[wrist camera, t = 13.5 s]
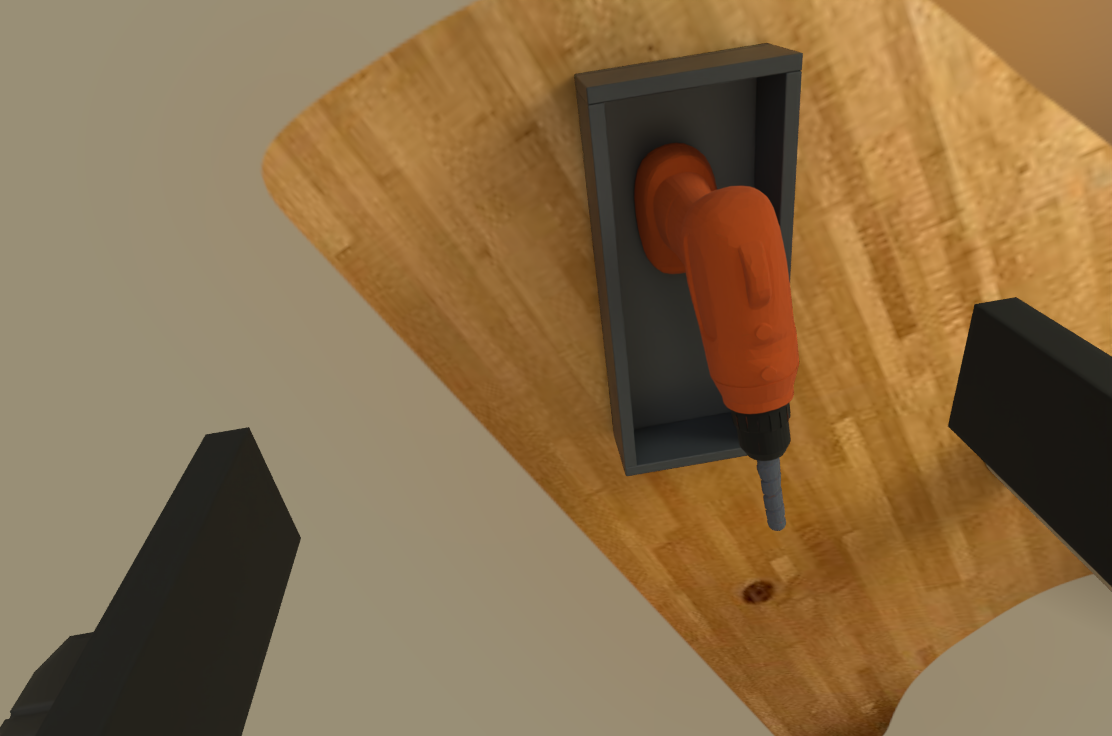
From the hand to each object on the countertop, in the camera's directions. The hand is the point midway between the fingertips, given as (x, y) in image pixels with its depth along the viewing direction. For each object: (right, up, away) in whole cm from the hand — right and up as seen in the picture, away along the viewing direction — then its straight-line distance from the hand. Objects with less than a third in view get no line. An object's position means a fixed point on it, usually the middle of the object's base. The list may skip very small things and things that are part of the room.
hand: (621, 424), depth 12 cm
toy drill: (+7, +7, +30) cm, 31 cm away
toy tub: (+7, +7, +30) cm, 32 cm away
